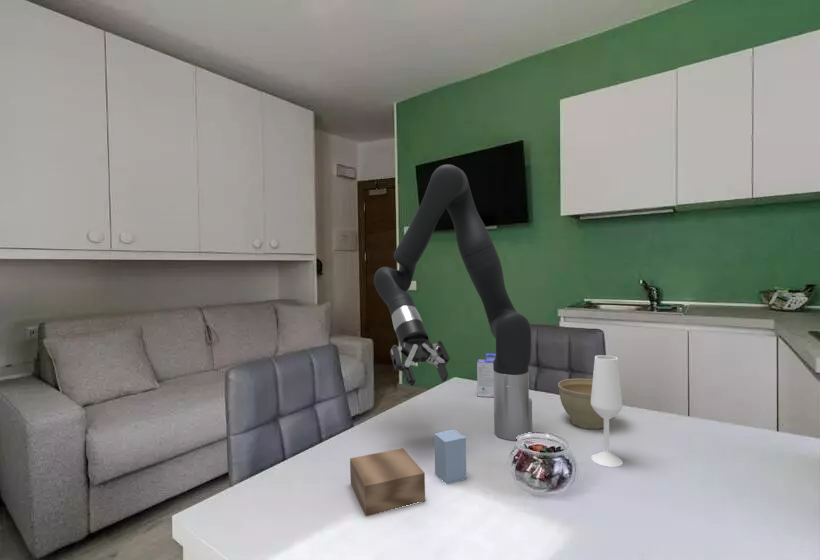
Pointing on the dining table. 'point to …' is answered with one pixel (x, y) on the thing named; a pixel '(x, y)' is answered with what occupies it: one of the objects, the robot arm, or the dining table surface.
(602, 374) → the champagne flute
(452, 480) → the slate blue pillar block
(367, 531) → the dining table surface
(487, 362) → the ink cartridge box
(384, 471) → the walnut block
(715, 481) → the dining table surface
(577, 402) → the planter bowl
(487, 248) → the robot arm
